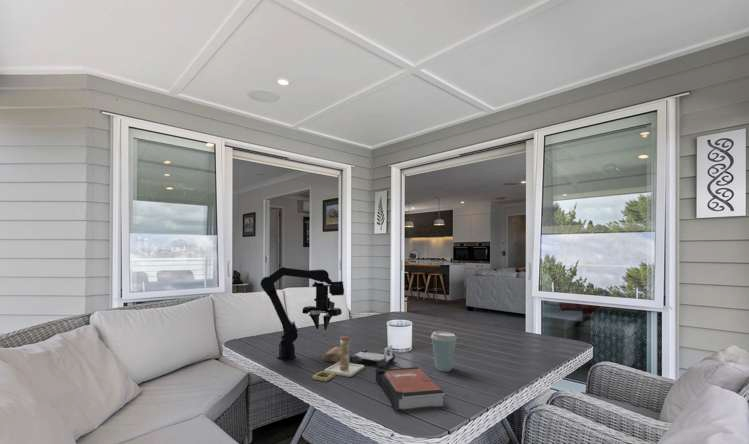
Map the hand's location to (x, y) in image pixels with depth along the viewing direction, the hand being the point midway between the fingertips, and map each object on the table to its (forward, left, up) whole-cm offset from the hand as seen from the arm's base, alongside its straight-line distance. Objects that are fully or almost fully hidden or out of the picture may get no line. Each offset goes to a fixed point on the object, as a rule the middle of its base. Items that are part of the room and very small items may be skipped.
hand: (321, 329), depth 174 cm
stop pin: (+20, -14, -12) cm, 27 cm away
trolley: (+27, 0, -12) cm, 29 cm away
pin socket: (+17, -25, -12) cm, 33 cm away
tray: (+20, -14, -12) cm, 28 cm away
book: (+52, -25, -13) cm, 59 cm away
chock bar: (+8, 0, -12) cm, 15 cm away
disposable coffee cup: (+57, +5, -12) cm, 59 cm away
